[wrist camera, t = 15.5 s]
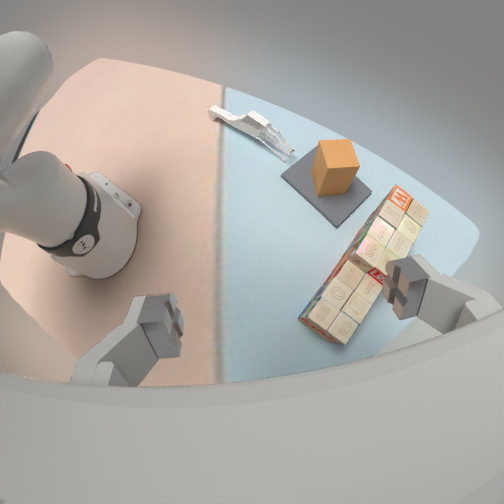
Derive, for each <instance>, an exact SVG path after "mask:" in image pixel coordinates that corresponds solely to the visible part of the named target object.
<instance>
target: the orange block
mask: <svg viewBox="0 0 504 504" xmlns="http://www.w3.org/2000/svg"><path fill="white" fill-rule="evenodd" d="M359 167H360V165H359V162H358V159H357V157H356V154H355V151H354V148H353V146H352V143H351V140H350V139H342V140H321V141H319V143H318V147H317V151H316V154H315V158H314V162H313V165H312V169H311V174H312V178H313V182H314V186H315V190H316V194H317V197H319V196H328V195H338V194H345V193H346V191H347V189H348V187H349V185H350V184H351V182H352V180H353V178H354V176H355V175H356V173H357V171H358V169H359Z"/></svg>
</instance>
